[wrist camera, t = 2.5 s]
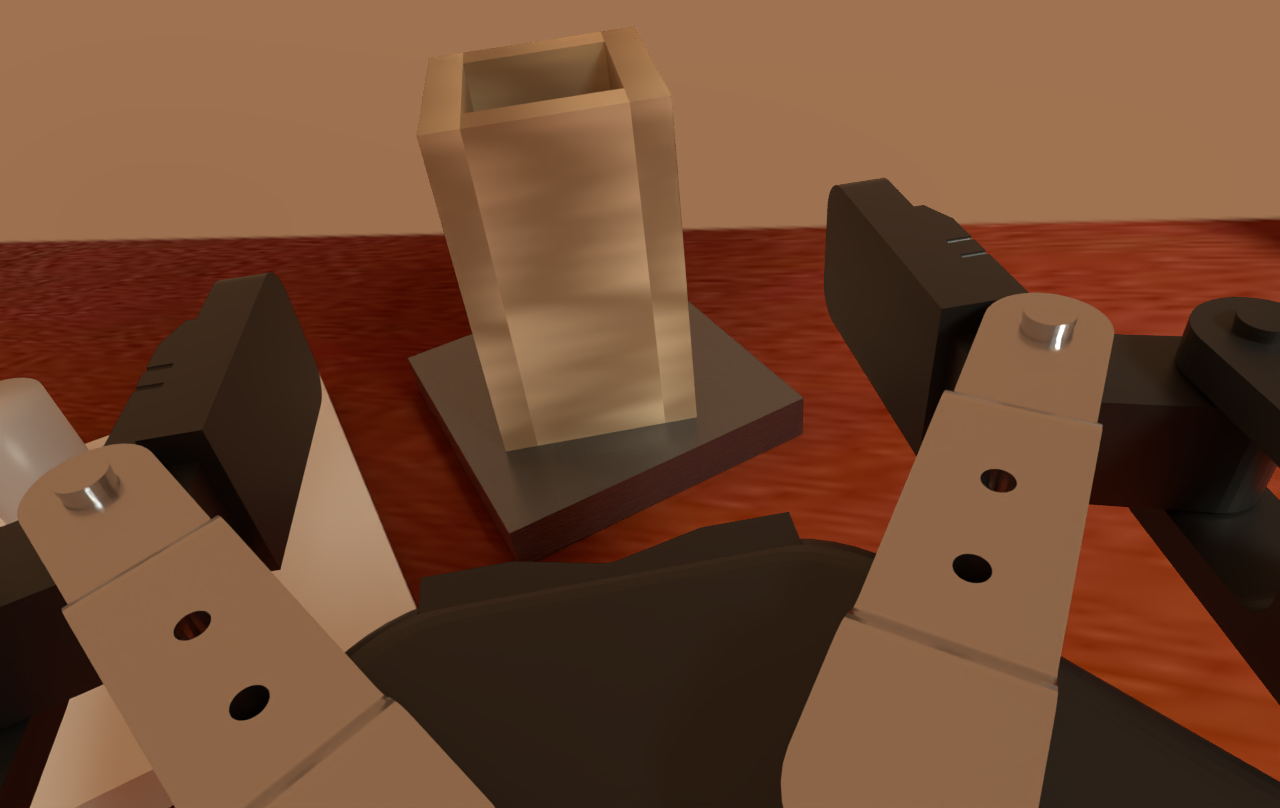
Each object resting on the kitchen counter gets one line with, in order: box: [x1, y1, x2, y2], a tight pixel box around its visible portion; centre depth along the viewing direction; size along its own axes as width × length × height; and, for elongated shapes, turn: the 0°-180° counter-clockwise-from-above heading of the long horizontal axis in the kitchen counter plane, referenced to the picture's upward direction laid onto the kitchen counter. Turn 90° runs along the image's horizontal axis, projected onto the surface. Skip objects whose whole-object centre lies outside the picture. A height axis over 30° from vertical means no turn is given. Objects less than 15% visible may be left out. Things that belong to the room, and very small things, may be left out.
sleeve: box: [417, 27, 697, 451], centre depth 25 cm, size 6×6×10 cm
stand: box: [408, 301, 803, 562], centre depth 26 cm, size 10×10×10 cm
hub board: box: [0, 374, 417, 808], centre depth 22 cm, size 14×14×8 cm
